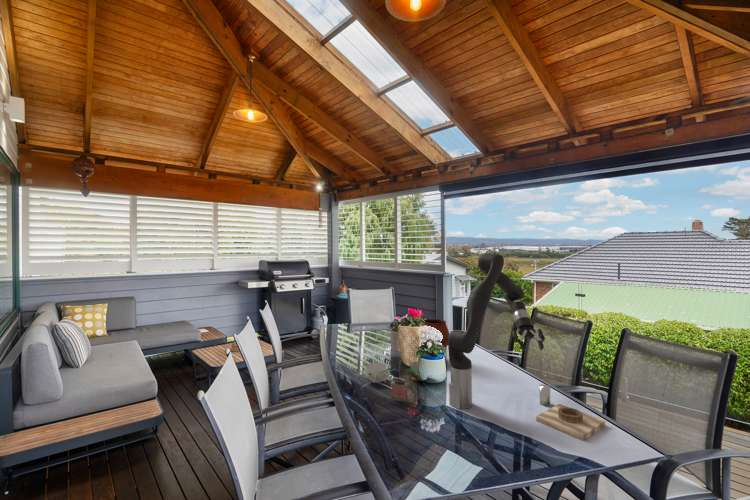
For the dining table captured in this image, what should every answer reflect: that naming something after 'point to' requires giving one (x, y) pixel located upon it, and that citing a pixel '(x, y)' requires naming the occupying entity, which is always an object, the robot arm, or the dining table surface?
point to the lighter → (399, 389)
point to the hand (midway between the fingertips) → (533, 349)
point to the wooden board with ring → (571, 421)
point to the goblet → (439, 328)
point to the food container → (415, 371)
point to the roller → (544, 395)
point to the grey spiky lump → (376, 372)
